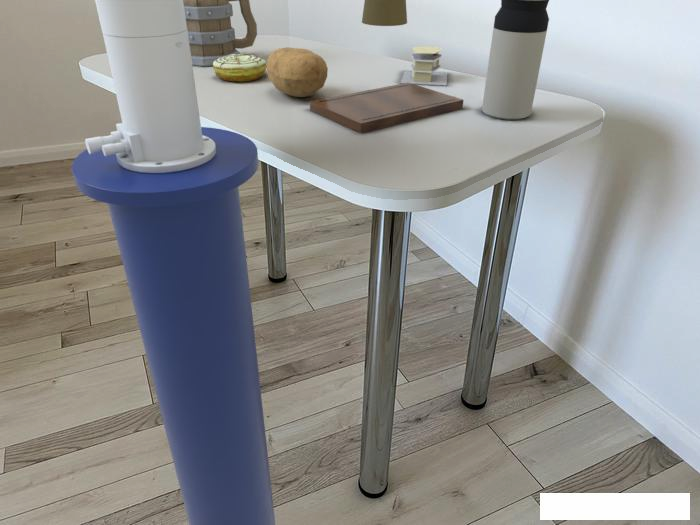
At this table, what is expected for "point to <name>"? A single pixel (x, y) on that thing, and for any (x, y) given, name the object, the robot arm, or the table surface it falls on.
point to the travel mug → (515, 58)
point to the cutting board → (385, 106)
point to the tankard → (216, 29)
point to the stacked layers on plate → (425, 67)
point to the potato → (296, 71)
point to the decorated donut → (239, 67)
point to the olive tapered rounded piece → (384, 12)
